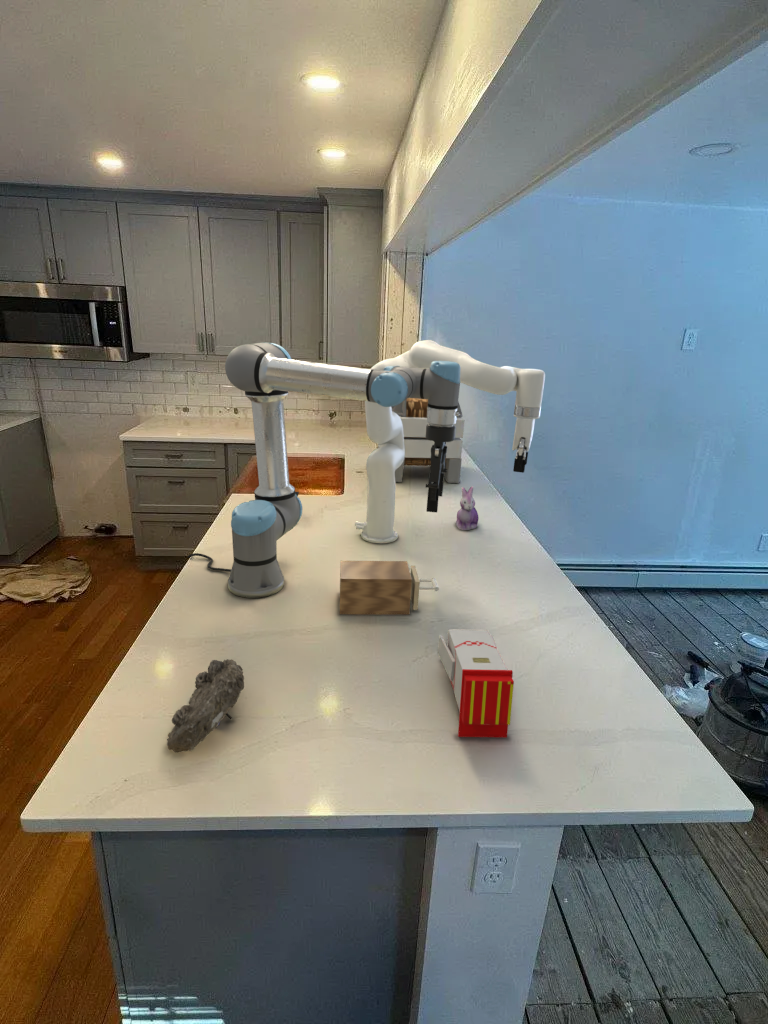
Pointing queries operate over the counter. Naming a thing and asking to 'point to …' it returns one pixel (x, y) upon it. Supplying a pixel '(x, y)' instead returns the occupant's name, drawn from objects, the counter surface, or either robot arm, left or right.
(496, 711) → the toy
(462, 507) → the figurine
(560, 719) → the counter surface
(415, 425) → the grey storage bin
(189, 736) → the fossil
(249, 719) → the counter surface
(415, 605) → the drawer
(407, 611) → the cabinet
